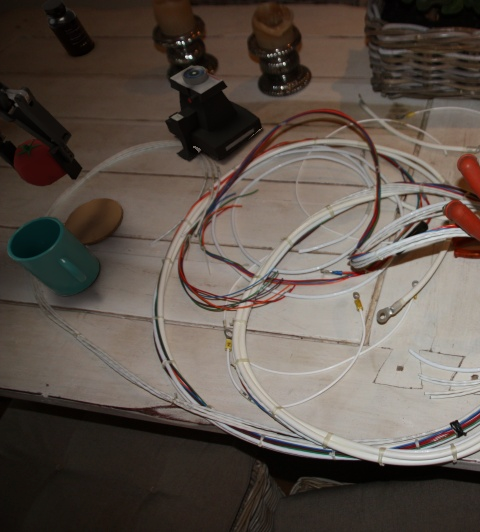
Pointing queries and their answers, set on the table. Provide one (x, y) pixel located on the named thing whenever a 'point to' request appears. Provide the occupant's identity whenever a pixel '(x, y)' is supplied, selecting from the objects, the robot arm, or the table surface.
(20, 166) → the tomato
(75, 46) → the supplement bottle
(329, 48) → the table surface
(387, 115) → the table surface
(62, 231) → the cup
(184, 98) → the camera
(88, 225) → the coaster
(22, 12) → the table surface
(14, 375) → the table surface
